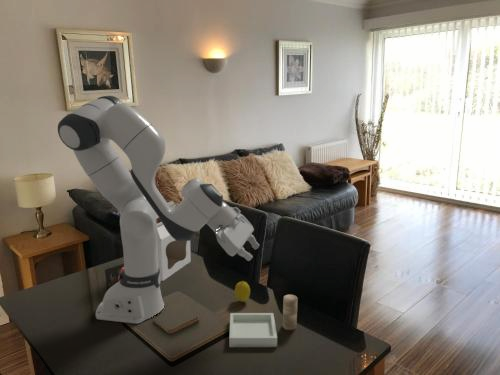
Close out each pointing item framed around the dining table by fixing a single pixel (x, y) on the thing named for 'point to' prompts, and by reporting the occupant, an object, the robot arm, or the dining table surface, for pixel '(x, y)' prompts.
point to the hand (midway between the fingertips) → (254, 253)
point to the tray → (252, 330)
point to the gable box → (171, 251)
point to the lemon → (242, 291)
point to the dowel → (290, 312)
